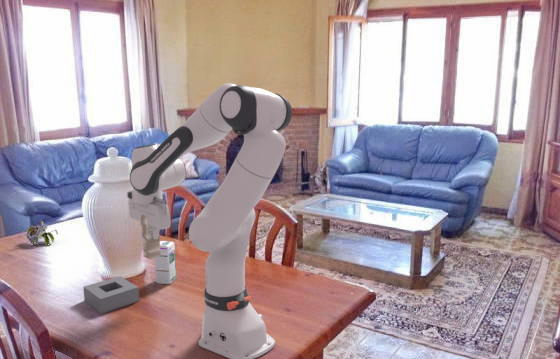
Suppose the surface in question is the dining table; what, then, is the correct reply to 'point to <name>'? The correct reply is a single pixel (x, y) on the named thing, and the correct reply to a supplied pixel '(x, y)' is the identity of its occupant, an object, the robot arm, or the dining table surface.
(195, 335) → the dining table surface
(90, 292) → the socket block
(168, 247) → the syrup box
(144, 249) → the cream peg
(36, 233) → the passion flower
